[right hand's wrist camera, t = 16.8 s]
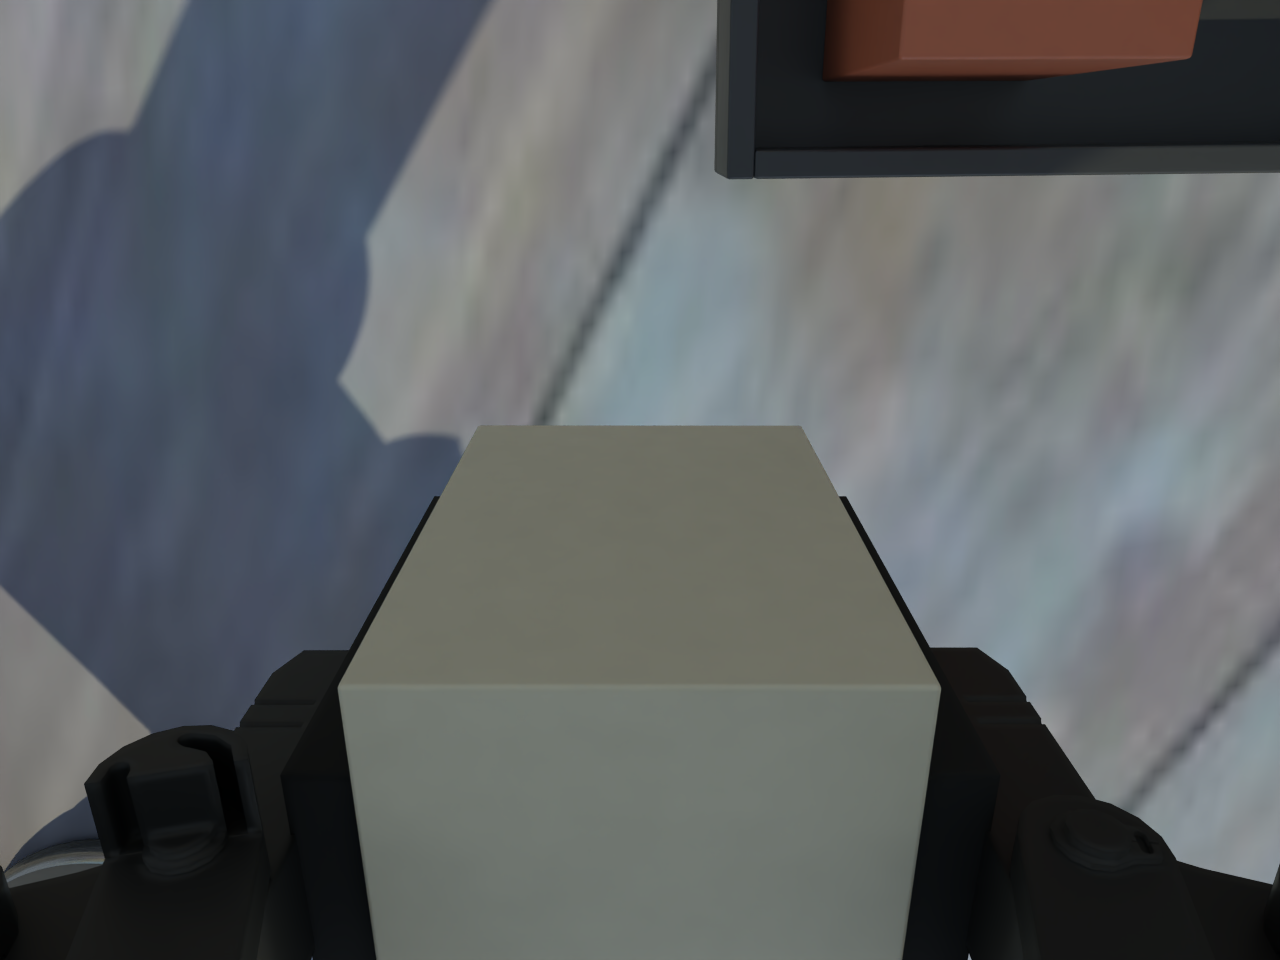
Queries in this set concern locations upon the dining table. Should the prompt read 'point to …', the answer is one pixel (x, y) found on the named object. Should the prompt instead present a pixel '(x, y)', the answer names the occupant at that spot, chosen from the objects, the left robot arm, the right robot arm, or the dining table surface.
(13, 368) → the dining table surface
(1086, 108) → the tray
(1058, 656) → the dining table surface
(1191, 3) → the terracotta block
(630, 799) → the cream block
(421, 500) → the dining table surface
